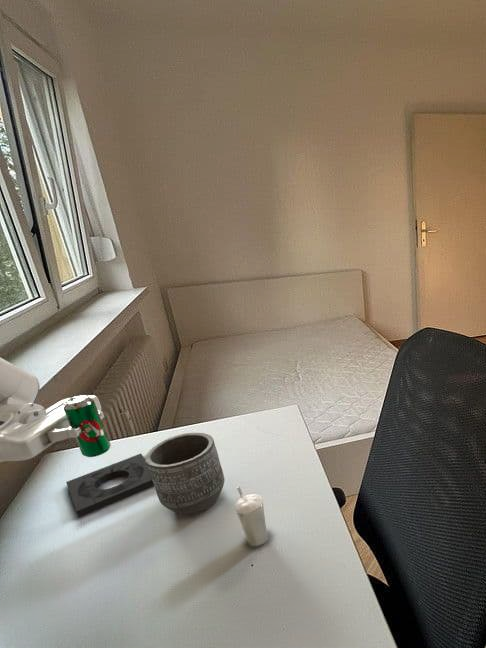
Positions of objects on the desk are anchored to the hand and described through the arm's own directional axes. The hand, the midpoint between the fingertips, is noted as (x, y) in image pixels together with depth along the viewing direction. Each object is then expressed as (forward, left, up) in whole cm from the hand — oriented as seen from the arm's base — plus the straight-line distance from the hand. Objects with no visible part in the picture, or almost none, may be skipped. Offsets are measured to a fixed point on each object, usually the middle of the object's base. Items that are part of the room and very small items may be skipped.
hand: (90, 423), depth 88 cm
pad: (0, +3, -17) cm, 17 cm away
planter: (+11, -17, -17) cm, 26 cm away
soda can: (-1, +1, -7) cm, 7 cm away
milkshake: (+15, -36, -17) cm, 42 cm away
